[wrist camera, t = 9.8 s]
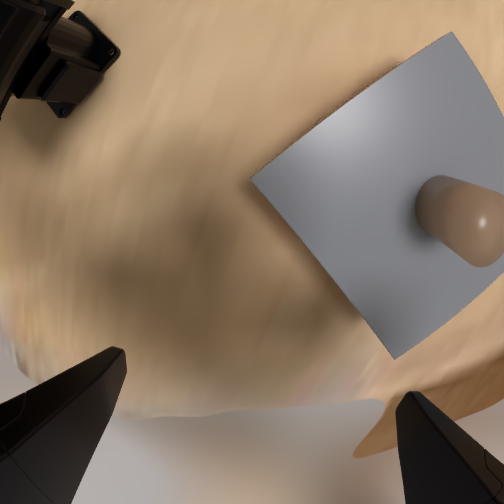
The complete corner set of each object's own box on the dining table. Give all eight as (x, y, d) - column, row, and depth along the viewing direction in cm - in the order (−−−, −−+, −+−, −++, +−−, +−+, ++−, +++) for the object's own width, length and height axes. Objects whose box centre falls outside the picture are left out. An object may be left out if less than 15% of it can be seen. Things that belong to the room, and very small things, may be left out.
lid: (251, 177, 14) (240, 196, 9) (444, 35, 10) (497, 10, 5) (390, 351, 17) (415, 408, 12) (534, 226, 13) (582, 253, 8)
